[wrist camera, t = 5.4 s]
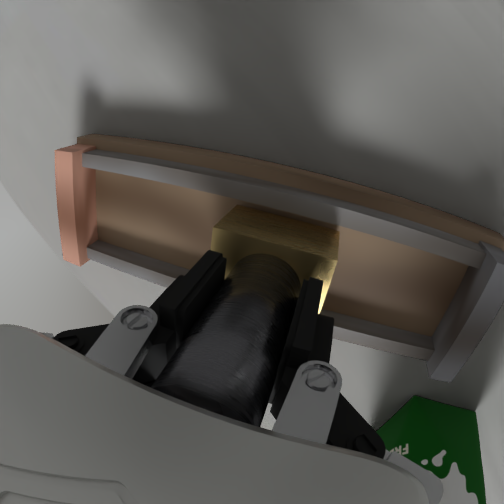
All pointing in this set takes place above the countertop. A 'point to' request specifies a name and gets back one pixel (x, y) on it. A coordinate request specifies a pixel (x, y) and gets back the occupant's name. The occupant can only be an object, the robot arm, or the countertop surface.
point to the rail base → (295, 207)
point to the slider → (249, 312)
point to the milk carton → (440, 446)
